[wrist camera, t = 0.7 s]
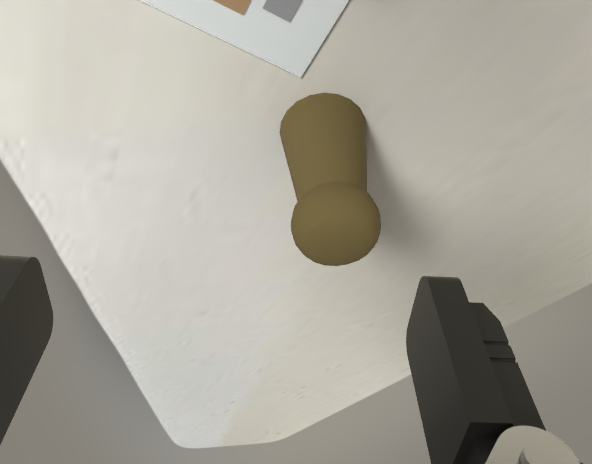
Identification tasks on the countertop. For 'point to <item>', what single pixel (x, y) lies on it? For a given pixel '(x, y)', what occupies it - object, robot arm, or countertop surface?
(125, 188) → the countertop surface
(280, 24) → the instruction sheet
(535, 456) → the robot arm
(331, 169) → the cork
